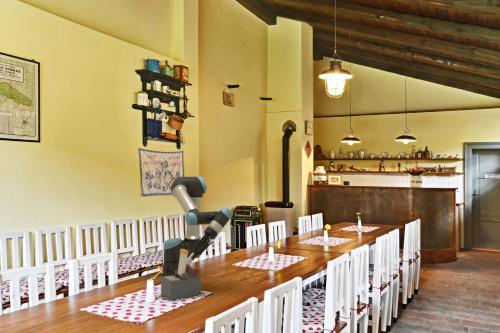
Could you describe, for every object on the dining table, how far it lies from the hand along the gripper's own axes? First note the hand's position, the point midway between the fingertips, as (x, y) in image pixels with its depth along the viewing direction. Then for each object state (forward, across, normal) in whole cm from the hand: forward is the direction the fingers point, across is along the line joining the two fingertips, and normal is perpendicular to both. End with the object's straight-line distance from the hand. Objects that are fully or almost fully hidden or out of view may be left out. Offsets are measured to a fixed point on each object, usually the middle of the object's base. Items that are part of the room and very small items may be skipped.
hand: (187, 263), depth 246 cm
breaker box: (+15, +2, -10) cm, 18 cm away
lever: (+6, +2, -2) cm, 7 cm away
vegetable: (+5, +19, -20) cm, 28 cm away
